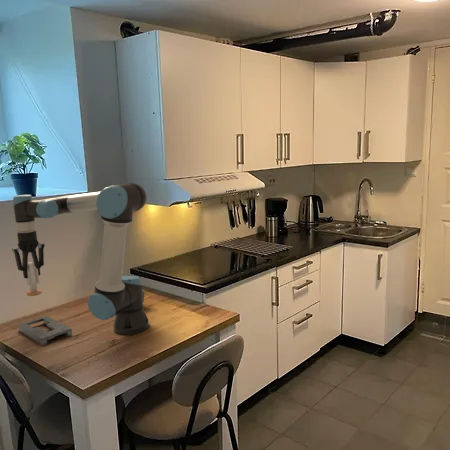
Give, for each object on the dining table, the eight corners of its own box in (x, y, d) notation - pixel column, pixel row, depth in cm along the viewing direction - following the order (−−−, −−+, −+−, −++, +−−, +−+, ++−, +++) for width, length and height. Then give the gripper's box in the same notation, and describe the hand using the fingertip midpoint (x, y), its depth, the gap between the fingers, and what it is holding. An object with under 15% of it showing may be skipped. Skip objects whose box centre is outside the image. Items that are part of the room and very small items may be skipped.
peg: (44, 293, 196) (40, 262, 193) (30, 297, 191) (26, 265, 189) (38, 290, 200) (34, 260, 197) (24, 294, 196) (20, 263, 193)
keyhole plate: (72, 335, 191) (71, 328, 190) (42, 345, 181) (41, 338, 181) (47, 321, 207) (46, 315, 207) (18, 330, 198) (17, 324, 198)
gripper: (41, 227, 199) (47, 278, 203) (3, 233, 188) (10, 287, 192) (48, 228, 194) (54, 281, 198) (10, 235, 183) (17, 290, 187)
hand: (33, 283), depth 195 cm, fingers closed on peg, 3 cm apart
